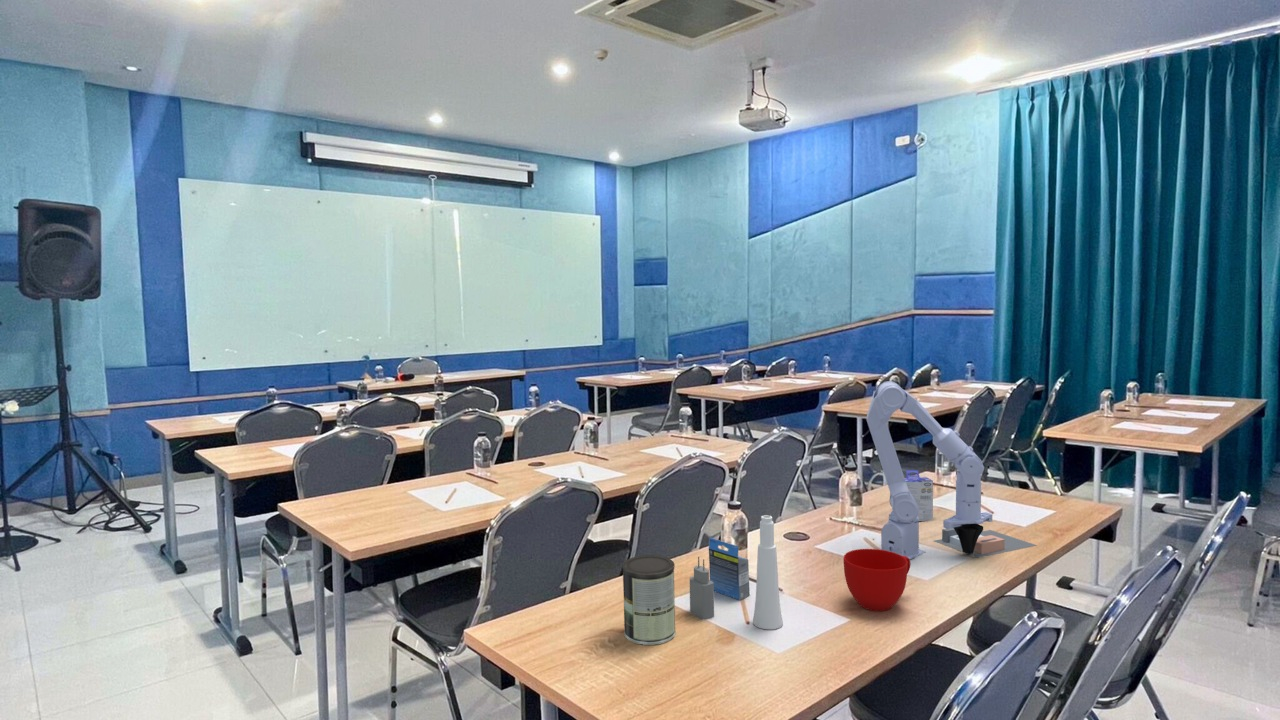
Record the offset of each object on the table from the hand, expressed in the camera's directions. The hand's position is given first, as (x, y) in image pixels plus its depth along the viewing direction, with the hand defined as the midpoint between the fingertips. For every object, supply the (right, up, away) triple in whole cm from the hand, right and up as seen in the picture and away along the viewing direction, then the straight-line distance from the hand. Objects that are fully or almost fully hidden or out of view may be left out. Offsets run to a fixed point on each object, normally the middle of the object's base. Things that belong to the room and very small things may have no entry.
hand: (967, 552), depth 177 cm
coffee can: (-81, -6, -38) cm, 89 cm away
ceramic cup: (-31, -4, -26) cm, 40 cm away
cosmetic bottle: (-57, -5, -35) cm, 67 cm away
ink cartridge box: (-1, +1, +32) cm, 32 cm away
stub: (+7, 0, +4) cm, 8 cm away
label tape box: (-63, -4, -19) cm, 66 cm away
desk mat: (+8, 0, +9) cm, 12 cm away
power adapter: (-70, -5, -30) cm, 76 cm away
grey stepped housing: (+4, 0, +10) cm, 11 cm away
